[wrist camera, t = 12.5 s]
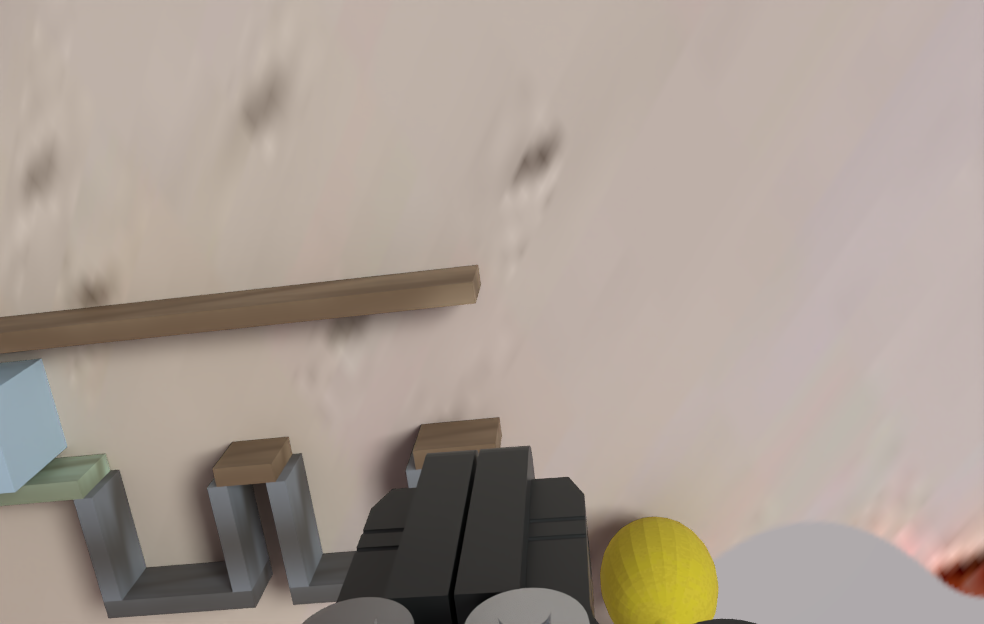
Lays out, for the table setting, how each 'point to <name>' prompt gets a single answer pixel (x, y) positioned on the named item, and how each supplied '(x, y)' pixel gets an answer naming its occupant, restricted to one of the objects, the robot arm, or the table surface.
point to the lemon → (658, 575)
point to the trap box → (244, 461)
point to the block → (26, 423)
